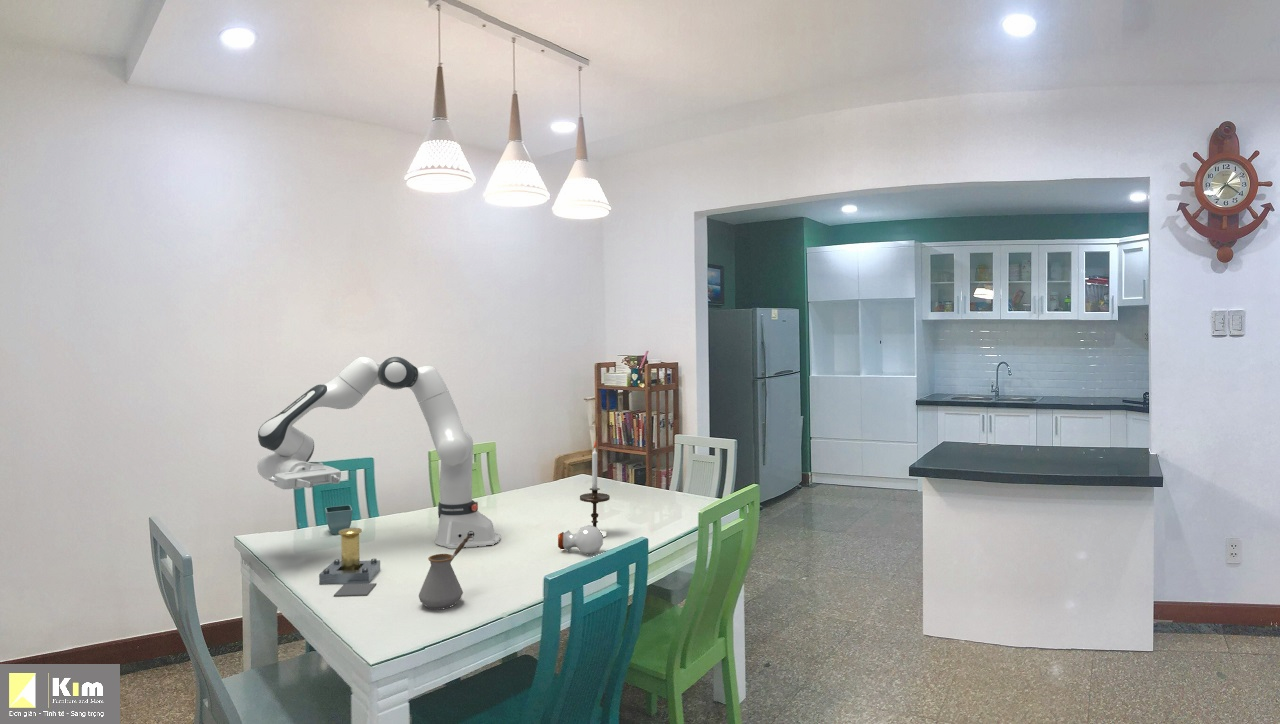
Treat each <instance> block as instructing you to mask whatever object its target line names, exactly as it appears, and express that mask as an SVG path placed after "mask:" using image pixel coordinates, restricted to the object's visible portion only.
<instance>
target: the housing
mask: <svg viewBox="0 0 1280 724" xmlns="http://www.w3.org/2000/svg"><path fill="white" fill-rule="evenodd" d="M380 571H381V560H378V559H377V558H371V559H370V560H360V569H359V570H342V560H340V559H338V558H337V559H334V560H333V561H332V562H331V563H329V565H328V566H327V567H326V568H324V569H323V570H322V571H321V572H320V573H319V575H318V577H319V579H318V583H319V584H318V585H344V584H368V583H370V582H371V581H372V580H373V579H374V578H375V577H376V575H378V573H379V572H380Z"/></svg>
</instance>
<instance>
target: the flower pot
mask: <svg viewBox="0 0 1280 724" xmlns="http://www.w3.org/2000/svg"><path fill="white" fill-rule="evenodd" d="M324 512H325V518H326V519H325V520H326V523H327V526H328V529H329V532H330V533H331V535H340V534H339V531H340V530H342V529H347V528H351V526H352V520H353V519H352V518H353V508H352V506H351V505H350V504H345V505H337V506H328V507H327V506H326V507H325V508H324Z"/></svg>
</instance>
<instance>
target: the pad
mask: <svg viewBox="0 0 1280 724" xmlns="http://www.w3.org/2000/svg"><path fill="white" fill-rule="evenodd" d="M376 586H377V583H376V582H375V583H374V582H373V583H372V582H371V583H370V582H369V583H354V584H342V586H341V587H340V588H339V589H338V590H337V591H336V592H335V593H334V594H333V597H335V598H337V597H339V598H340V597H366V596H369V594H370V593H371V592H372V591H373V589H374V588H375V587H376Z"/></svg>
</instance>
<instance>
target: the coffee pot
mask: <svg viewBox="0 0 1280 724" xmlns="http://www.w3.org/2000/svg"><path fill="white" fill-rule="evenodd" d="M470 537H472V536H470V535H468V536H467V537H466V539H464V541H463V542H462V543H461V544H460V545H459V546H458V548H455V549H456V550H454V552H453V554H450V553H438V554H437V553H436V554H432V555H430V556H429V557H428V561H429V562H430V567H429V569H428V572H427V574H426V576H425V579H424V581H423V584H422V586H421V588H420V591H419V593H418V599H419V601H420V603H422V604H423V605H424V606H425V607H426V608H427V609H429V608H430V610H436V609H438V610H444V609H443V608H446V609H448V608H447V607H450V606H452V605H454V604H455V603H456V604H457V603H458V602H459V601H460V600H461V598H462V596H463V593H464V592H463V588H462V586H461V583H460V582H459V580H458V577H457V575H456V573H455V570H454V569H453V566H452V565H451V563H452V561H453V560H454V559H455V557H456V556H457V555H458V554H459V553H460V552H461V551H462V549H463V547H464V545H465V543H466V542H468V539H469V538H470ZM472 538H473V537H472ZM473 540H474V538H473ZM473 540H469V541H473ZM456 604H455V605H456ZM455 605H454V606H455ZM452 607H453V606H452ZM450 608H451V607H450Z"/></svg>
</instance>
